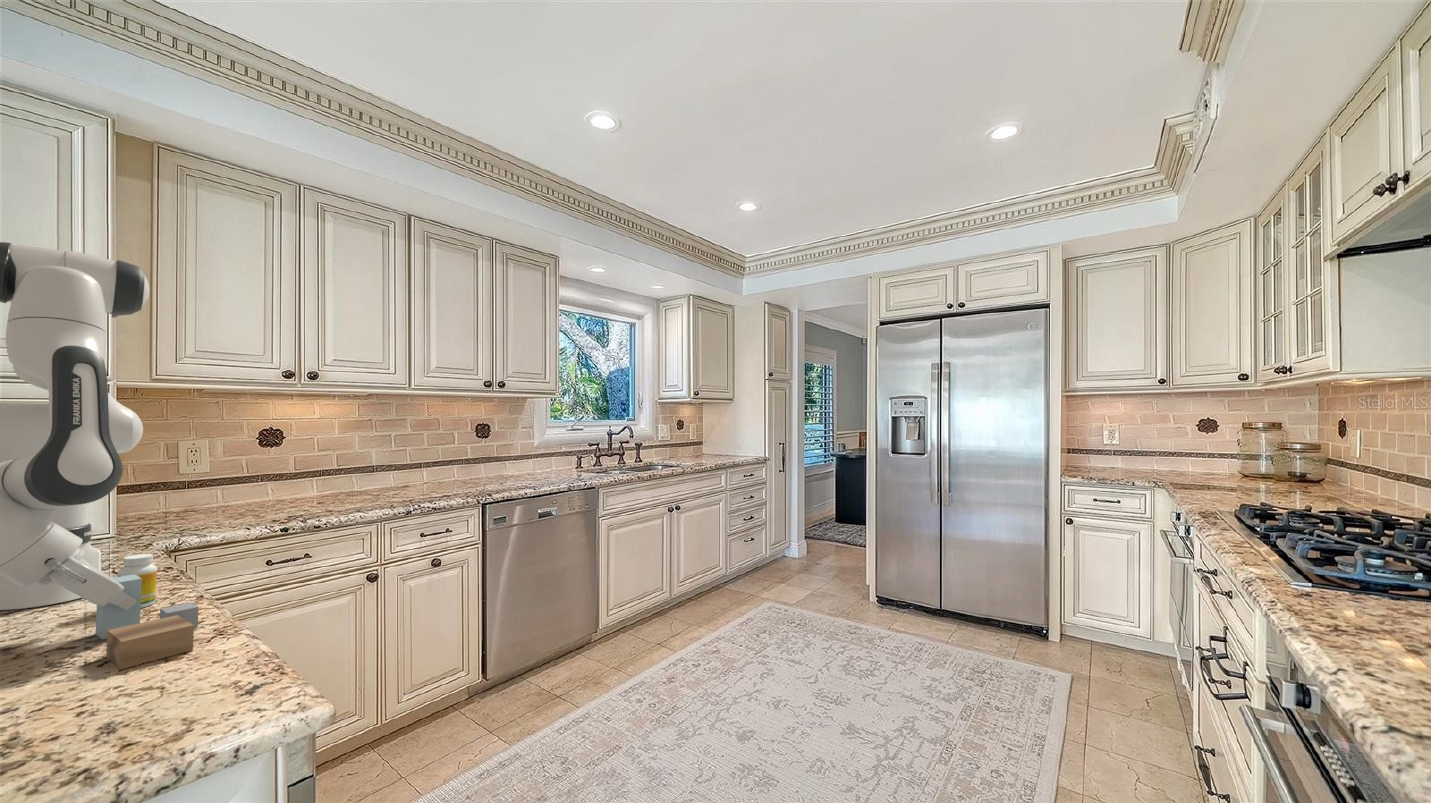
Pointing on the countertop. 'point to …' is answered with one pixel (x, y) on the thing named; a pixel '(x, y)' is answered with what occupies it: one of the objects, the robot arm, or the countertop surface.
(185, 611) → the block
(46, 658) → the countertop surface
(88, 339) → the robot arm
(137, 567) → the supplement bottle
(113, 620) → the pillar
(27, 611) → the countertop surface
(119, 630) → the plinth
